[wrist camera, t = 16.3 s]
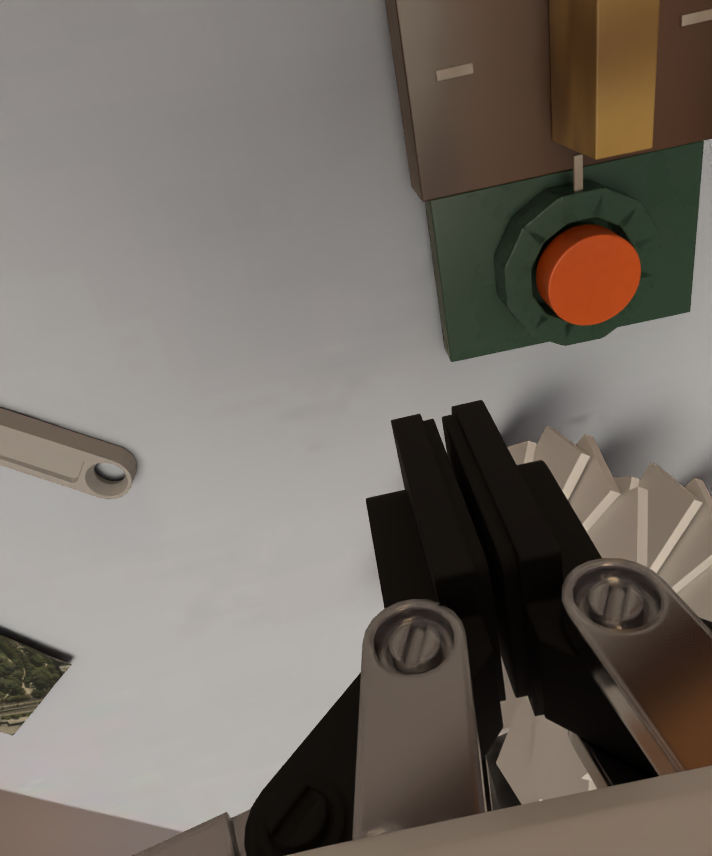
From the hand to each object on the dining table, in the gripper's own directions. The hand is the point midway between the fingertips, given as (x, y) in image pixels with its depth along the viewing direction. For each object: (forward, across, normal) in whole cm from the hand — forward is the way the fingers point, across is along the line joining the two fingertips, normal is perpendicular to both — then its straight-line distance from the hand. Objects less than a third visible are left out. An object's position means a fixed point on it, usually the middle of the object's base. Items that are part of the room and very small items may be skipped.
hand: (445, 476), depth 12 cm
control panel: (+21, -10, -4) cm, 24 cm away
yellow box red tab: (+18, -9, -5) cm, 21 cm away
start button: (+18, -9, +4) cm, 21 cm away
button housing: (+21, -9, +4) cm, 23 cm away
